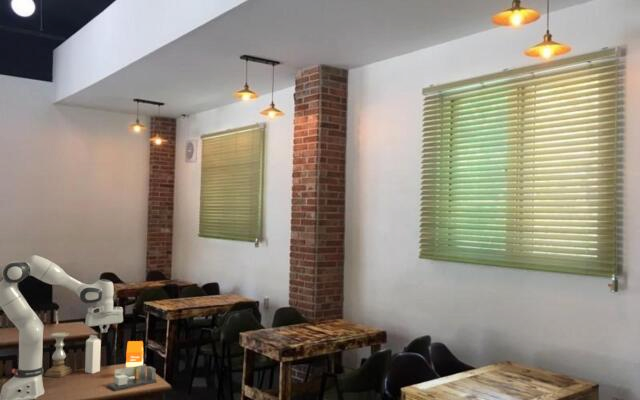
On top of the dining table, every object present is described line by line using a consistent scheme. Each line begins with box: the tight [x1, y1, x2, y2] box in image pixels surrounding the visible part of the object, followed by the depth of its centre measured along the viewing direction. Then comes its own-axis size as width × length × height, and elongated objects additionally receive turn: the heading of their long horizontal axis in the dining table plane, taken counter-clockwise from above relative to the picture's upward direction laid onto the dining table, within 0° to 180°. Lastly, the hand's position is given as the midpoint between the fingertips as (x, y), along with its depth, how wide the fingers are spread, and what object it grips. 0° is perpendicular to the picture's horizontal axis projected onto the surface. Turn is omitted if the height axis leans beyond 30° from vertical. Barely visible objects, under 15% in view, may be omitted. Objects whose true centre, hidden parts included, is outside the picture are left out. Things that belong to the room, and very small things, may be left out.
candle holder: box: [44, 331, 73, 378], centre depth 321 cm, size 11×11×24 cm
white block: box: [115, 375, 135, 386], centre depth 303 cm, size 10×7×4 cm, turn 132°
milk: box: [84, 334, 102, 374], centre depth 328 cm, size 6×6×22 cm
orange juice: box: [125, 340, 144, 368], centre depth 324 cm, size 8×9×20 cm
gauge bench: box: [107, 363, 158, 392], centre depth 306 cm, size 24×11×8 cm, turn 132°
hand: (104, 332), depth 306 cm, fingers closed
